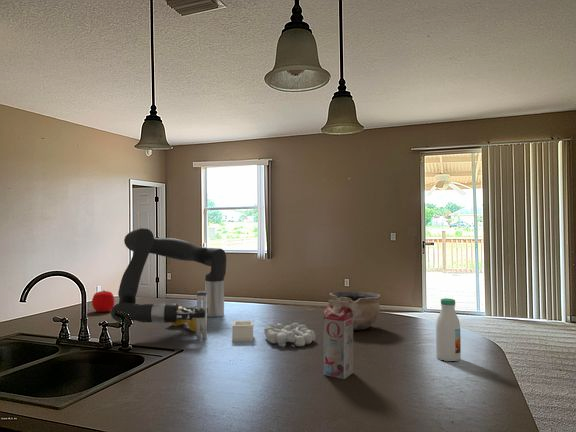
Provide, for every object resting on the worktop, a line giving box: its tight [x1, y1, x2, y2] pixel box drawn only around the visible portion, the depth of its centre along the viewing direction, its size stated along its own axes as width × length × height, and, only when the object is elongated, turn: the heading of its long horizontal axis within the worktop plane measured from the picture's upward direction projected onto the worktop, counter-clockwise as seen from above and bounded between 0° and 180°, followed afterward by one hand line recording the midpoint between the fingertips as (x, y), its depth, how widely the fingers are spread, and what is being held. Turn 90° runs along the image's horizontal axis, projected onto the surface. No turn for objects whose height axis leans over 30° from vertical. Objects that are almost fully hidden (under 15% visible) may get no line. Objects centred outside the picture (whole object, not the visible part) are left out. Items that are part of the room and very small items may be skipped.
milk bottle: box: [435, 297, 462, 362], centre depth 145 cm, size 8×8×20 cm
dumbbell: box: [170, 305, 202, 333], centre depth 187 cm, size 19×9×8 cm, turn 47°
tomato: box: [91, 290, 115, 313], centre depth 222 cm, size 10×11×11 cm
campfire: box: [264, 322, 316, 347], centre depth 167 cm, size 22×21×6 cm
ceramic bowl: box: [329, 290, 381, 331], centre depth 187 cm, size 22×22×15 cm
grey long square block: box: [196, 290, 208, 340], centre depth 170 cm, size 4×4×18 cm
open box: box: [231, 320, 254, 342], centre depth 170 cm, size 8×8×6 cm
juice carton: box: [323, 299, 354, 380], centre depth 130 cm, size 7×7×22 cm
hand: (206, 312), depth 171 cm, fingers open, 8 cm apart
